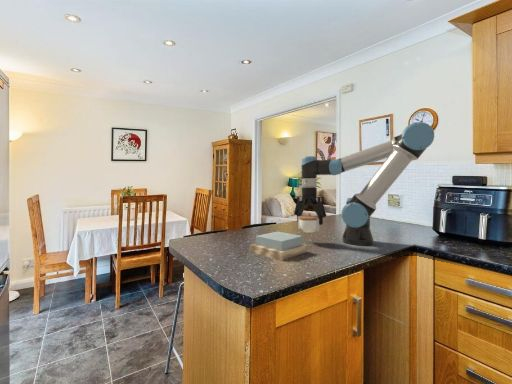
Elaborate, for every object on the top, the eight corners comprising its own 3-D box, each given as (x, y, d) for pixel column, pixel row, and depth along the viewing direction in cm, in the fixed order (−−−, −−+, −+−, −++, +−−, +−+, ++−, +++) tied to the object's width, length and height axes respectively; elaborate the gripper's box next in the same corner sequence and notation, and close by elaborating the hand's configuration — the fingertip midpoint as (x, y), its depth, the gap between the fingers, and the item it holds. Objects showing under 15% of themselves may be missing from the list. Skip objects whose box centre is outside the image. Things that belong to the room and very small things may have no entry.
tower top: (302, 244, 124) (302, 235, 124) (281, 251, 114) (281, 241, 114) (277, 239, 135) (277, 231, 135) (255, 244, 124) (255, 236, 124)
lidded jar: (295, 230, 144) (294, 213, 143) (312, 229, 148) (312, 211, 147) (306, 234, 134) (306, 215, 133) (324, 232, 138) (324, 213, 138)
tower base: (306, 253, 124) (306, 244, 124) (281, 262, 112) (281, 252, 111) (276, 246, 137) (276, 238, 137) (250, 253, 124) (250, 244, 124)
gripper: (286, 187, 145) (287, 228, 146) (325, 187, 129) (325, 233, 130) (295, 186, 151) (295, 226, 152) (333, 186, 134) (333, 231, 135)
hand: (309, 229), depth 141 cm, fingers closed on lidded jar, 11 cm apart
